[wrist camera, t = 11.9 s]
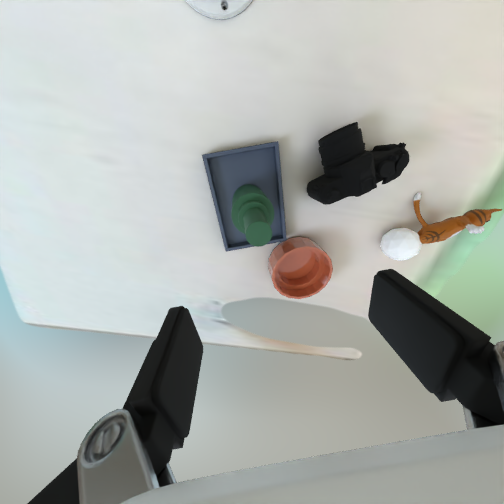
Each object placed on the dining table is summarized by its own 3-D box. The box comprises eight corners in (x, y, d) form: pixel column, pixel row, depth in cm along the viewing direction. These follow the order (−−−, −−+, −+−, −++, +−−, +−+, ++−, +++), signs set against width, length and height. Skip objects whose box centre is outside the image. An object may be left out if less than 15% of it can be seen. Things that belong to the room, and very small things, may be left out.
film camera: (375, 109, 31) (424, 91, 23) (383, 167, 35) (427, 170, 27) (289, 153, 33) (306, 152, 25) (306, 204, 37) (326, 216, 29)
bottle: (229, 187, 34) (224, 211, 18) (262, 181, 34) (285, 200, 18) (235, 219, 37) (236, 264, 21) (266, 213, 37) (289, 254, 21)
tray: (204, 155, 32) (201, 154, 30) (275, 142, 32) (278, 141, 30) (226, 246, 40) (225, 251, 38) (283, 236, 40) (286, 240, 38)
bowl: (264, 241, 40) (268, 253, 35) (321, 231, 40) (333, 241, 35) (270, 287, 45) (275, 303, 40) (321, 278, 45) (331, 293, 40)
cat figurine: (402, 269, 34) (539, 225, 28) (373, 210, 35) (499, 156, 29) (379, 262, 46) (471, 230, 40) (358, 219, 47) (445, 181, 41)
